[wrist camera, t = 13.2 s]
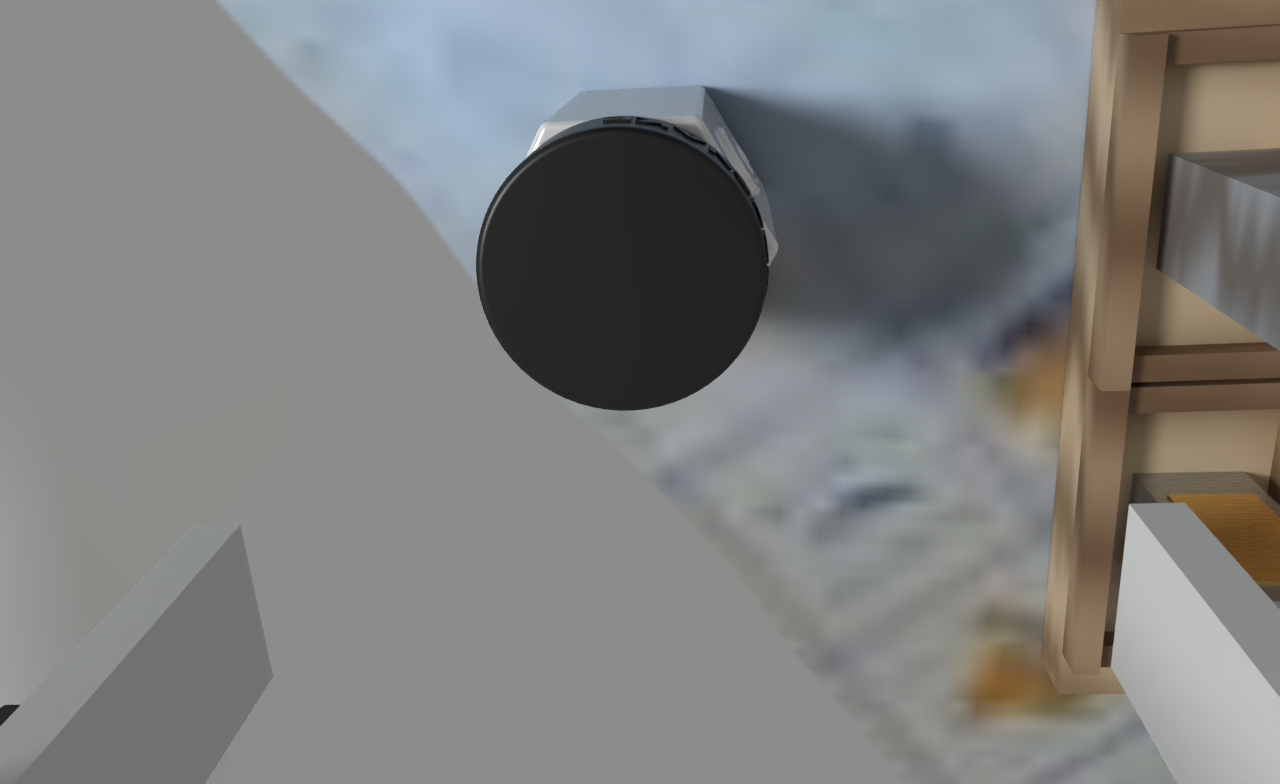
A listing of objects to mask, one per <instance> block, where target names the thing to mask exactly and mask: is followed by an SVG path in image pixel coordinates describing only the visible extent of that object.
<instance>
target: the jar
mask: <svg viewBox="0 0 1280 784" xmlns="http://www.w3.org/2000/svg"><path fill="white" fill-rule="evenodd" d="M777 252H778V242H777V237H776V233H775V229H774V224H773V220H772V215H771V211H770V206H769V202H768V198H767V193H766V189H765V187H764V185H763V184H762V182H761V180H760V179H759V177H758V175H757V174H756V172H755V170H754V169H753V167H752V165H751V164H750V162H749V160H748V159H747V157H746V156H745V154H744V152H743V151H742V149H741V147H740V146H739V144H738V142H737V141H736V139H735V137H734V136H733V134H732V132H731V131H730V129H729V127H728V126H727V124H726V122H725V121H724V119H723V117H722V116H721V114H720V113H719V111H718V109H717V108H716V106H715V104H714V103H713V101H712V99H711V98H710V96H709V94H708V93H707V91H706V89H705V88H704V87H702V86H682V87H661V88H640V89H619V90H597V91H582V92H580V93H578V94H577V95H576V96H575V97H574V98H572V99H571V100H570V101H569V102H568V103H567V104H565V105H564V106H563V107H562V108H561V109H559V110H558V111H557V112H556V113H555V114H553V115H552V116H551V117H550V118H549V119H548V120H546V121H545V122H544V123H543V124H542V125H541V126H540V127H539V129H538V132H537V134H536V136H535V138H534V140H533V142H532V144H531V147H530V149H529V151H528V153H527V155H526V157H525V160H524V161H523V162H522V163H520V164H519V165H518V166H517V167H516V168H515V169H514V170H513V172H512V173H511V174H510V175H509V176H508V177H507V178H506V180H505V181H504V182H503V184H502V185H501V186H500V188H499V190H498V191H497V193H496V194H495V196H494V198H493V200H492V202H491V204H490V206H489V208H488V210H487V212H486V215H485V218H484V221H483V223H482V227H481V231H480V235H479V240H478V246H477V256H476V274H477V284H478V290H479V295H480V300H481V303H482V306H483V310H484V313H485V315H486V318H487V320H488V323H489V325H490V327H491V329H492V330H493V333H494V335H495V336H496V338H497V340H498V341H499V342H500V344H501V346H502V347H503V349H504V350H505V351H506V352H507V354H508V355H509V356H510V357H511V359H512V360H513V361H514V362H515V363H516V364H517V365H518V366H519V367H520V368H521V369H522V370H523V371H524V372H525V373H526V374H527V375H529V376H530V377H531V378H532V379H534V380H535V381H536V382H538V383H539V384H541V385H542V386H543V387H545V388H547V389H548V390H550V391H552V392H554V393H555V394H558V395H560V396H562V397H564V398H566V399H569V400H571V401H574V402H577V403H579V404H583V405H587V406H590V407H595V408H601V409H607V410H619V411H623V410H642V409H649V408H655V407H660V406H663V405H667V404H670V403H673V402H676V401H678V400H681V399H683V398H686V397H688V396H690V395H692V394H693V393H695V392H697V391H699V390H701V389H702V388H704V387H705V386H707V385H708V384H710V383H711V382H712V381H714V380H715V379H716V378H717V377H719V376H720V375H721V374H722V373H723V372H724V371H725V370H726V369H727V368H728V367H729V366H730V365H731V364H732V363H733V362H734V360H735V359H736V358H737V357H738V356H739V354H740V353H741V351H742V350H743V349H744V347H745V346H746V344H747V342H748V341H749V339H750V337H751V335H752V333H753V331H754V329H755V327H756V325H757V322H758V320H759V317H760V314H761V311H762V307H763V303H764V299H765V295H766V291H767V285H768V274H769V266H770V264H771V262H772V261H773V259H774V257H775V255H776V254H777Z"/></svg>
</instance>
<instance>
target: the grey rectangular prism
mask: <svg viewBox="0 0 1280 784" xmlns="http://www.w3.org/2000/svg"><path fill="white" fill-rule="evenodd" d="M1143 503H1186V504H1187V505H1188V507H1189V508H1190V509H1191V510H1192V511H1193V512H1194V513H1195V514H1196V516H1197V517H1198V518H1199V519H1200V520H1201V521H1202V522H1203V523H1204V525H1205V526H1206V527H1207V528H1208V529H1209V530H1210V531H1211V532H1212V534H1213V535H1214V536H1215V537H1216V538H1217V539H1218V540H1219V541H1220V543H1221V544H1222V545H1223V546H1224V547H1225V548H1226V549H1227V551H1228V552H1229V553H1230V554H1231V555H1232V556H1233V557H1234V558H1235V560H1236V561H1237V562H1238V563H1239V564H1240V565H1241V566H1242V567H1243V569H1244V570H1245V571H1246V572H1247V573H1248V574H1249V575H1250V576H1251V578H1252V579H1253V580H1254V581H1255V582H1256V583H1257V584H1258V585H1259V587H1260V588H1261V589H1262V590H1263V591H1264V592H1265V593H1266V595H1267V596H1268V597H1269V598H1270V599H1271V600H1272V601H1273V602H1274V604H1275V605H1276V606H1277V607H1278V608H1279V609H1280V506H1279V505H1278V504H1277V503H1276V502H1275V501H1274V500H1273V499H1272V498H1271V497H1270V496H1269V495H1268V494H1267V493H1266V492H1265V491H1264V490H1263V489H1261V488H1260V487H1259V486H1258V485H1257V484H1256V483H1255V482H1254V481H1253V480H1252V479H1251V478H1250V477H1249V476H1248V475H1247V474H1246V473H1244V472H1243V471H1232V472H1175V473H1133V479H1132V487H1131V495H1130V503H1129V504H1143ZM1124 545H1125V544H1124ZM1123 554H1124V552H1123ZM1122 563H1123V560H1122Z"/></svg>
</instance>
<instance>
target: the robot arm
mask: <svg viewBox="0 0 1280 784" xmlns="http://www.w3.org/2000/svg"><path fill="white" fill-rule="evenodd" d="M1111 668H1112V670H1113V672H1114V673H1115V675H1116V677H1117V679H1118V680H1119V682H1120V684H1121V686H1122V687H1123V689H1124V691H1125V693H1126V694H1127V696H1128V698H1129V700H1130V701H1131V703H1132V705H1133V707H1134V708H1135V710H1136V712H1137V714H1138V715H1139V717H1140V719H1141V721H1142V723H1143V724H1144V726H1145V728H1146V730H1147V731H1148V733H1149V735H1150V737H1151V738H1152V740H1153V742H1154V744H1155V745H1156V747H1157V749H1158V751H1159V752H1160V754H1161V756H1162V758H1163V759H1164V761H1165V763H1166V765H1167V767H1168V768H1169V770H1170V772H1171V774H1172V775H1173V777H1174V779H1175V781H1176V782H1177V784H1280V609H1279V608H1278V607H1277V606H1276V605H1275V604H1274V602H1273V601H1272V600H1271V599H1270V598H1269V597H1268V596H1267V595H1266V593H1265V592H1264V591H1263V590H1262V589H1261V588H1260V587H1259V585H1258V584H1257V583H1256V582H1255V581H1254V580H1253V579H1252V578H1251V576H1250V575H1249V574H1248V573H1247V572H1246V571H1245V570H1244V569H1243V567H1242V566H1241V565H1240V564H1239V563H1238V562H1237V561H1236V560H1235V558H1234V557H1233V556H1232V555H1231V554H1230V553H1229V552H1228V551H1227V549H1226V548H1225V547H1224V546H1223V545H1222V544H1221V543H1220V541H1219V540H1218V539H1217V538H1216V537H1215V536H1214V535H1213V534H1212V532H1211V531H1210V530H1209V529H1208V528H1207V527H1206V526H1205V525H1204V523H1203V522H1202V521H1201V520H1200V519H1199V518H1198V517H1197V516H1196V514H1195V513H1194V512H1193V511H1192V510H1191V509H1190V508H1189V507H1188V505H1187V504H1186V503H1143V504H1129V509H1128V518H1127V527H1126V536H1125V545H1124V554H1123V563H1122V571H1121V580H1120V589H1119V598H1118V607H1117V616H1116V625H1115V634H1114V643H1113V652H1112V661H1111ZM272 677H273V674H272V669H271V664H270V660H269V656H268V651H267V646H266V641H265V637H264V633H263V628H262V623H261V619H260V614H259V609H258V605H257V600H256V596H255V591H254V586H253V582H252V577H251V572H250V568H249V563H248V559H247V555H246V549H245V545H244V540H243V536H242V531H241V527H240V525H209V526H207V525H206V526H191V527H190V528H189V530H187V532H186V533H185V534H184V535H183V536H182V537H181V538H180V539H179V540H178V541H177V542H176V543H175V544H174V545H173V546H172V547H171V548H170V549H169V551H167V552H166V553H165V555H164V556H163V557H162V558H161V559H160V560H159V561H158V562H157V563H156V564H155V565H154V566H153V567H152V568H151V569H150V570H149V571H148V573H146V574H145V575H144V577H143V578H142V579H141V580H140V581H139V582H138V583H137V584H136V585H135V586H134V587H133V588H132V589H131V590H130V591H129V592H128V593H127V594H126V595H125V596H124V597H123V598H122V600H121V601H120V602H119V603H118V604H117V605H116V606H115V607H114V608H113V609H112V610H111V611H110V612H109V613H108V614H107V615H106V616H105V617H104V619H102V620H101V622H100V623H99V624H98V625H97V626H96V627H95V628H94V629H93V630H92V631H91V632H90V633H89V634H88V635H87V636H86V637H85V638H84V639H83V640H82V642H80V643H79V645H78V646H77V647H76V648H75V649H74V650H73V651H72V652H71V653H70V654H69V655H68V656H67V657H66V658H65V659H64V660H63V661H62V662H61V663H60V664H59V666H57V668H56V669H55V670H54V671H53V672H52V673H51V674H50V675H49V676H48V677H47V678H46V679H45V680H44V681H43V682H42V683H41V684H40V685H39V686H38V687H37V689H36V690H35V691H34V692H33V693H32V694H31V695H30V696H29V697H28V698H27V699H26V700H25V701H24V702H23V703H22V704H21V705H5V706H3V707H1V708H0V784H205V782H206V781H207V779H208V778H209V776H210V774H211V773H212V771H213V770H214V768H215V767H216V765H217V763H218V762H219V760H220V759H221V757H222V756H223V754H224V752H225V751H226V749H227V748H228V746H229V745H230V743H231V741H232V740H233V738H234V737H235V735H236V734H237V732H238V730H239V729H240V727H241V726H242V724H243V723H244V721H245V720H246V718H247V716H248V714H249V713H250V711H251V710H252V708H253V707H254V705H255V704H256V702H257V701H258V699H259V697H260V696H261V694H262V692H263V691H264V690H265V688H266V686H267V685H268V683H269V682H270V680H271V678H272Z"/></svg>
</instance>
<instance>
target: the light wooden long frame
mask: <svg viewBox="0 0 1280 784" xmlns="http://www.w3.org/2000/svg"><path fill="white" fill-rule="evenodd" d="M1232 471H1243V472H1244V473H1246V474H1247V475H1248V476H1249V477H1250V478H1251V479H1252V480H1253V481H1254V482H1255V483H1256V484H1257V485H1258V486H1259V487H1260V488H1261V489H1263V490H1264V491H1265V492H1266V493H1267V494H1268V495H1269V496H1270V497H1271V498H1272V499H1273V500H1274V501H1275V502H1276V503H1277V504H1278V505H1279V506H1280V0H1097V7H1096V19H1095V31H1094V42H1093V54H1092V66H1091V78H1090V90H1089V102H1088V113H1087V125H1086V137H1085V149H1084V161H1083V173H1082V184H1081V196H1080V208H1079V220H1078V232H1077V244H1076V255H1075V267H1074V279H1073V291H1072V303H1071V314H1070V326H1069V338H1068V350H1067V362H1066V374H1065V385H1064V397H1063V409H1062V421H1061V433H1060V445H1059V456H1058V468H1057V480H1056V492H1055V504H1054V516H1053V527H1052V539H1051V551H1050V563H1049V575H1048V587H1047V598H1046V610H1045V622H1044V634H1043V646H1042V657H1041V659H1042V661H1043V663H1044V665H1045V667H1046V669H1047V671H1048V673H1049V675H1050V678H1051V680H1052V682H1053V684H1054V686H1055V688H1056V690H1057V692H1058V694H1117V693H1125V691H1124V689H1123V687H1122V686H1121V684H1120V682H1119V680H1118V679H1117V677H1116V675H1115V673H1114V672H1113V670H1112V668H1111V661H1112V652H1113V643H1114V634H1115V625H1116V616H1117V607H1118V598H1119V589H1120V580H1121V571H1122V560H1123V552H1124V544H1125V536H1126V527H1127V518H1128V509H1129V503H1130V495H1131V487H1132V479H1133V473H1175V472H1232Z"/></svg>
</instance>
